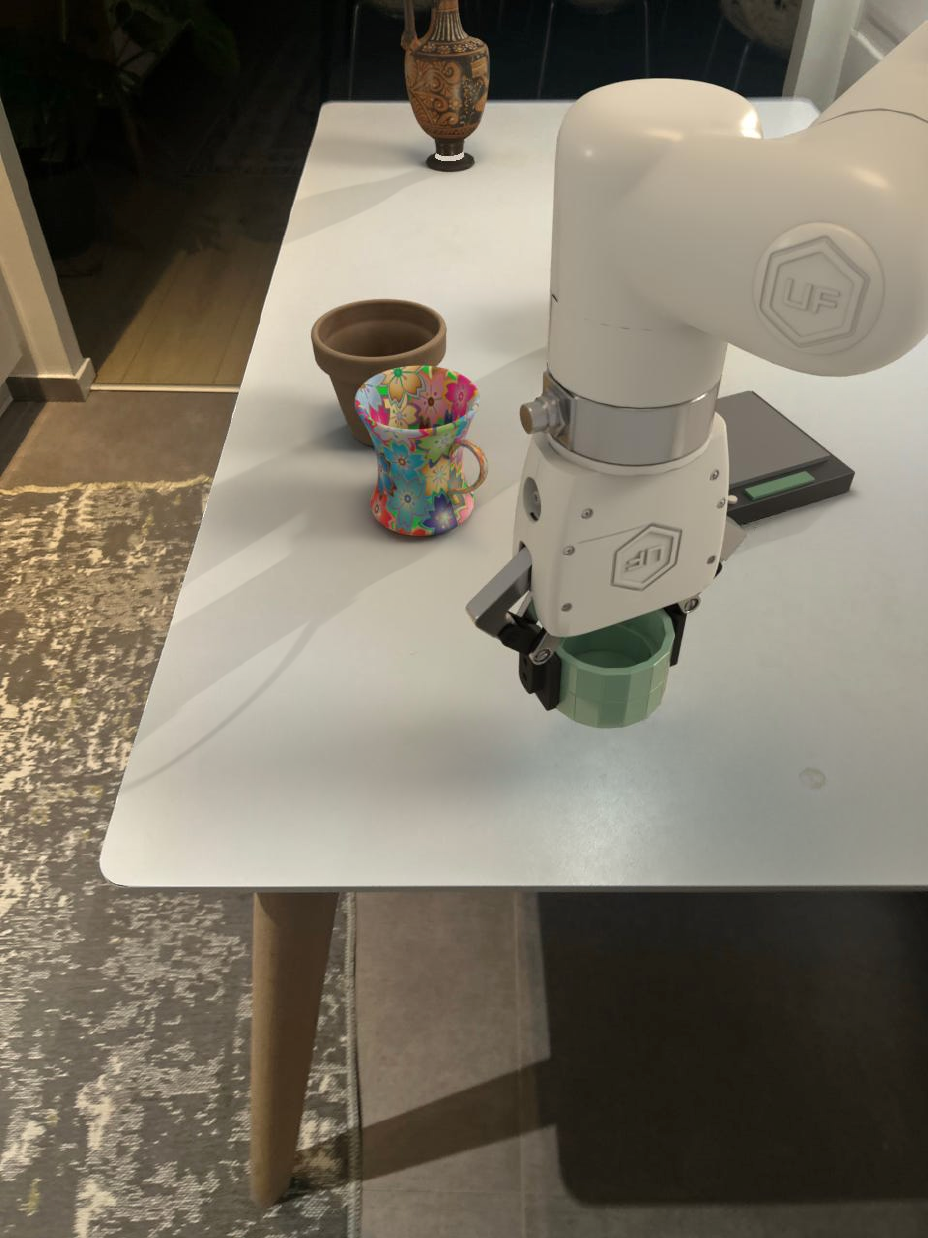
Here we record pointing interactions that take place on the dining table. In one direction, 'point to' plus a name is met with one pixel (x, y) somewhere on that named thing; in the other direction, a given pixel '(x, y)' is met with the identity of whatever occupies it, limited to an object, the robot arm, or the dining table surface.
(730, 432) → the scale
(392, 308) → the flower pot
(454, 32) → the vase
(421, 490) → the mug
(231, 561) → the dining table surface
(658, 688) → the bowl
